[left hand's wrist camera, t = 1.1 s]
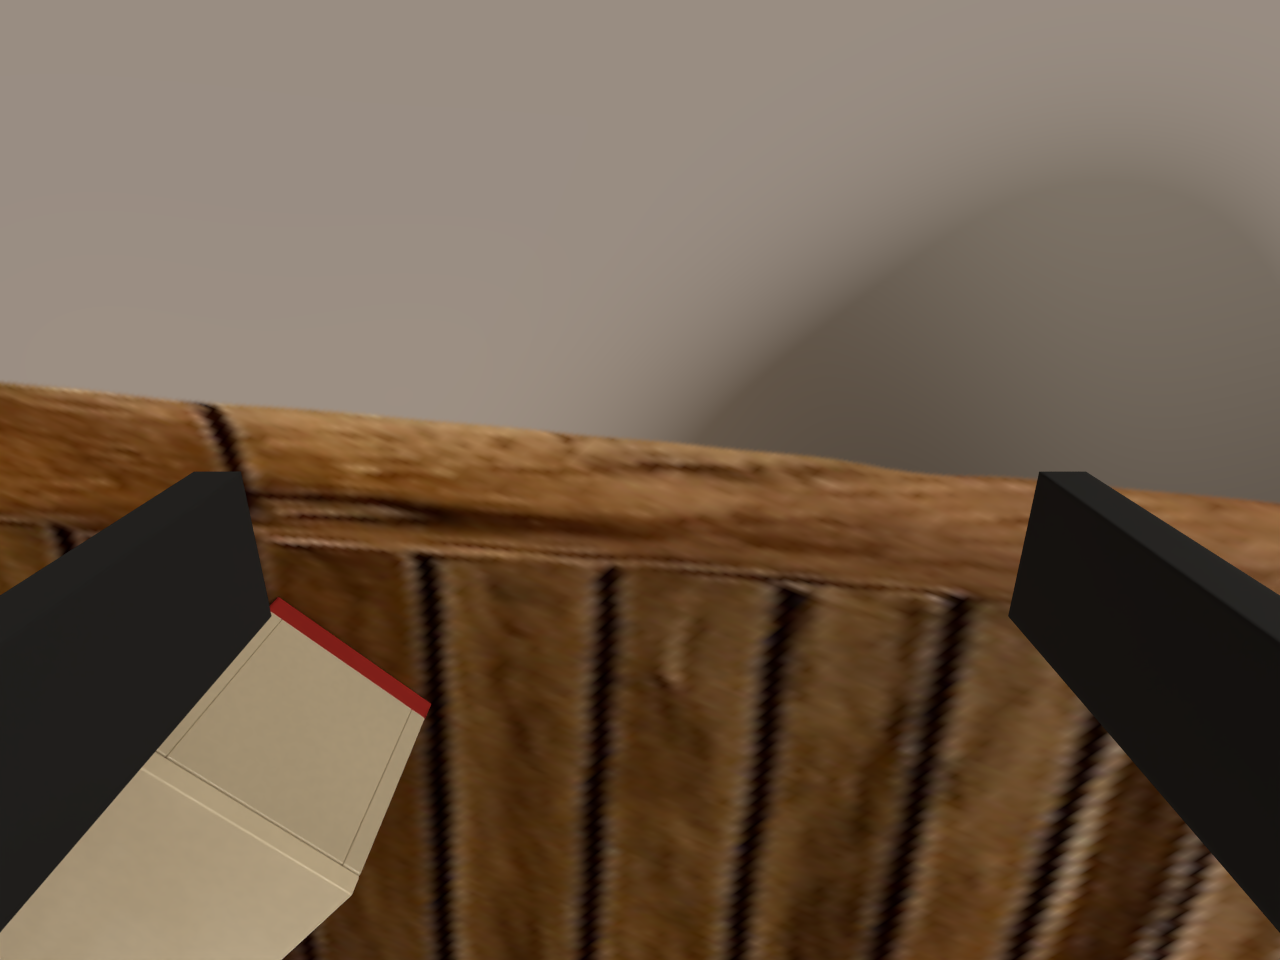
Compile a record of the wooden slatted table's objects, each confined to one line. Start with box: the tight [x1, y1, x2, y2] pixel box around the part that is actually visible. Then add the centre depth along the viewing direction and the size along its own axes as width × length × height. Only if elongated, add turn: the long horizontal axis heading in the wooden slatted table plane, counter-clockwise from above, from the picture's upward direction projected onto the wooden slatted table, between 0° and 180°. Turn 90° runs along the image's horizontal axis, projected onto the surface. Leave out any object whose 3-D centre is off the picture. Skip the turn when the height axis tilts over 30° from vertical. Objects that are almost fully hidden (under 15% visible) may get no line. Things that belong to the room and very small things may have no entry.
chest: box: [156, 597, 431, 876], centre depth 34 cm, size 17×9×10 cm, turn 137°
